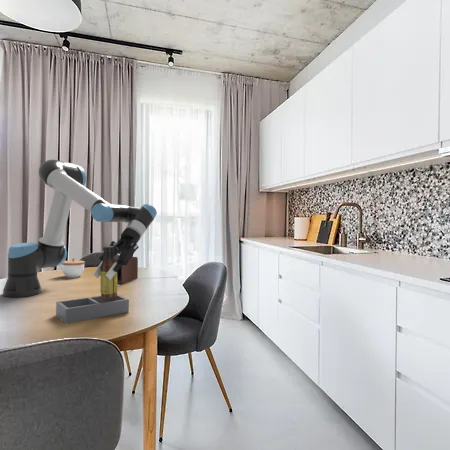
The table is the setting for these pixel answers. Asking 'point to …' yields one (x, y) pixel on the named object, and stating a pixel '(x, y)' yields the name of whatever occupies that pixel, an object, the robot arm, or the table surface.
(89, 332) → the table surface
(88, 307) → the slot caddy
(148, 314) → the table surface
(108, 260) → the sauce bottle
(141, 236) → the robot arm
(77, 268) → the lidded sugar bowl
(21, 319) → the table surface
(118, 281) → the letter holder
